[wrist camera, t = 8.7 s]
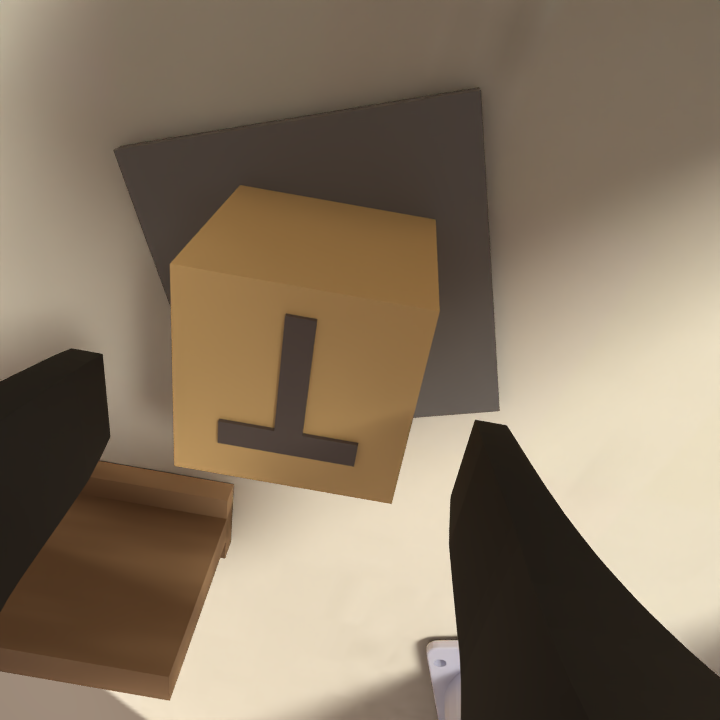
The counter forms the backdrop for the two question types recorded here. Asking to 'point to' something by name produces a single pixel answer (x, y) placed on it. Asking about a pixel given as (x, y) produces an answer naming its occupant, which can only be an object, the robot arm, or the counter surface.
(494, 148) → the counter surface
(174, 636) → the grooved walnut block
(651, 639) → the robot arm
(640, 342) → the counter surface
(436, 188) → the charcoal mat
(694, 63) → the counter surface
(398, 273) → the lettered cube
